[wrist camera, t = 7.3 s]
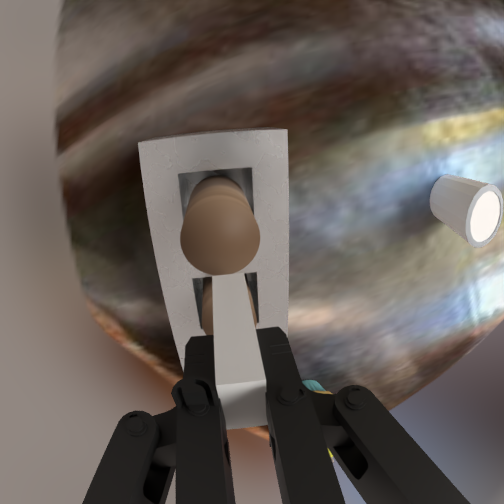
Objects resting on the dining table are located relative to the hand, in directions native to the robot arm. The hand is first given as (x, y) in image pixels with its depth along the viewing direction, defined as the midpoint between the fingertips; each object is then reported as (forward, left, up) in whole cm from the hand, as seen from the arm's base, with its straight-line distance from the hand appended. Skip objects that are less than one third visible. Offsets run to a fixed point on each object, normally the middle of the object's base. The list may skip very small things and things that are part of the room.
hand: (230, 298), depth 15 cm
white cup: (0, +26, -14) cm, 29 cm away
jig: (+6, 0, -14) cm, 15 cm away
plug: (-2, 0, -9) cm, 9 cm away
